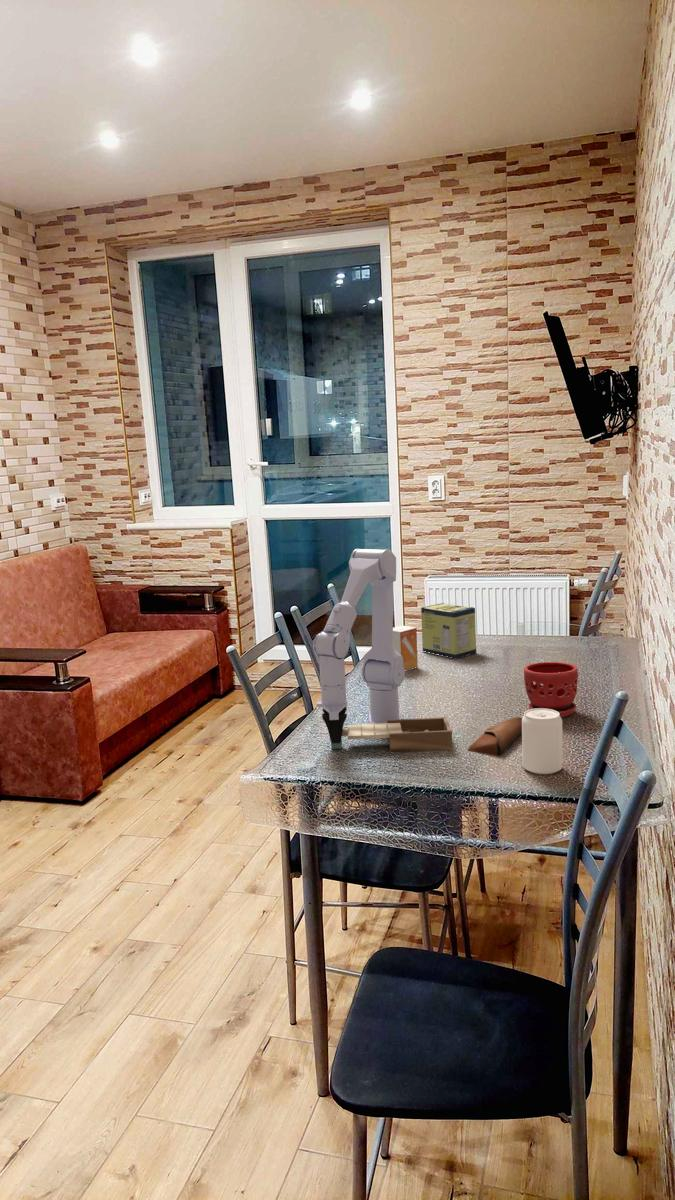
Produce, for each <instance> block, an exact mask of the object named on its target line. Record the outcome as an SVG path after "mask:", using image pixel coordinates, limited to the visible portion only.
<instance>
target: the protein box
mask: <svg viewBox="0 0 675 1200" xmlns="http://www.w3.org/2000/svg"><path fill="white" fill-rule="evenodd" d="M420 612H421V641H422V644H421V645H422V652H423V651H426V652H430V653H434V654H439V655H443V656H448V657H452V658H451V659H453V658H457V659H459V658H458V657H460V658H463V657H462V656H464V657H467V656H470V655H469V654H471V655H474V654H477V631H476V629H477V628H476V626H477V625H476V608H475V607H472V606H464V605H457V604H450V603H444V602H440V603H437V604H433V605H432V604H431V605H427V606H423V607H421V608H420ZM473 653H474V654H473ZM434 654H433V655H434ZM439 655H438V656H439ZM466 655H467V656H466ZM443 656H442V657H443ZM448 657H447V658H448Z"/></svg>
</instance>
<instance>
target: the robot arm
mask: <svg viewBox="0 0 675 1200" xmlns="http://www.w3.org/2000/svg"><path fill="white" fill-rule="evenodd" d="M348 568H349V572H350V573H349V578H347V579H348V580H347V583H346V585H345V589H344V592H343V594H342V598H341V600H340V602H338V603H335V604H334V606H333V608H332V609H331V610H332V611H331V612H330V614H329V616H328V619H327V621H326V624H325V626H324V628H323V630H322V631H321V632H320V633H318V634H316V636H315V638H314V641H313V645H312V649H313V654H315V656H316V662H317V664H318V665H319V680H320V696H321V700H320V701H316V707H319V708H322V712H323V713H321V718H322V720H323V722H324V724H325V725H326V728H327V732H328V736H329V740H330V744H331V743H332V744H334V743H341V738H342V737H343V736H342V730H343V729H344V724H345V722H346V719H347V717H348V714H347V713H346V712H347V707H348V700H347V687H346V686H347V685H346V683H347V682H346V667H345V657H346V655H347V654H348V652H349V649H350V639H351V634H350V633H351V630H352V628H353V626H354V623H355V621H356V619H357V615H358V614H357V610H356V606H357V604H358V603H359V600H360V599H361V597H362V595H363V593H364V592H365V589H366V587H367V586H368V584H370V586H372V587H371V591H372V592H371V593H372V595H371V598H372V599H371V602H372V603H371V649H369V650H368V651H367V652H366V653H365V654H364V655H363V661H362V665H361V673H360V674H361V678H362V680H363V682H364V683H365V684H366V687H367V688H369V690H368V691H369V706H370V707H369V709H370V711H369V712H368V721H369V724H373V723H374V724H382V723H387V720H398V719H402V717H401V712H400V705H399V704H400V703H399V687H400V686H401V685H402V684H403V682H404V680H405V675H406V671H405V669H404V666H403V657H402V656H401V655H400V654H399V653H398V652H397V651H396V650H394V649H393V628H394V582H396V580H397V557H396V555H395V554H394V552H393V551H392V550H391V549H390V548H389V549H388V548H385V549H375V548H374V549H373V548H372V549H371V548H368V549H367V548H363V549H362V548H355V549H354V550H352V552H351V554H350V558H349V560H348Z"/></svg>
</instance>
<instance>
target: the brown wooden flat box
mask: <svg viewBox="0 0 675 1200" xmlns="http://www.w3.org/2000/svg"><path fill="white" fill-rule="evenodd" d="M387 723H400V725H401V729H402V733H389V736H390V738H387V740H388V741H387V742H388V746H389V752H390V753H391V752H399V753H418V752H432V751H433V752H438V751H453V731H452V728H451V726H450V722H449V721H448V719H447V717H446V716H445V717H442V716H441V717H423V718H422V717H421V718H420V717H419V718H404V719H403V718H401V719H398V720H387ZM391 754H392V753H391Z"/></svg>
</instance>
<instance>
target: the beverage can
mask: <svg viewBox="0 0 675 1200" xmlns="http://www.w3.org/2000/svg"><path fill="white" fill-rule="evenodd" d="M521 718H522V733H521V749H522V750H521V755H522V759H521V761H522V762H521V763H522V768H524V770H525V771H528V772H530V773H533V774H538V775H550V774H554V773H556V772H557V773H558V772H559V771H561V770H562V768H563V718H562V717H560V713H559V712H557V711H555V710H552V709H546V708H535V709H530V710H529V709H527V710H525V711H524V713H523V716H522V717H521Z"/></svg>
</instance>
